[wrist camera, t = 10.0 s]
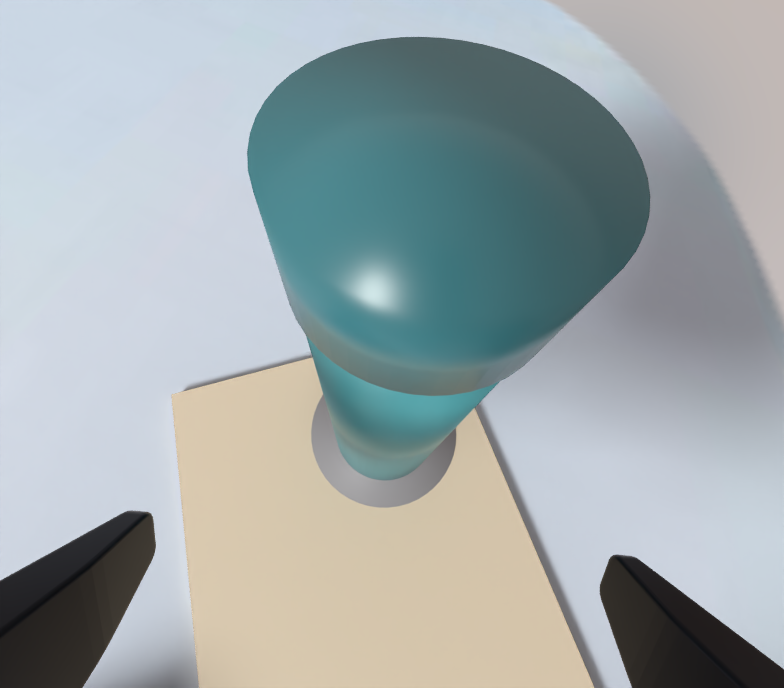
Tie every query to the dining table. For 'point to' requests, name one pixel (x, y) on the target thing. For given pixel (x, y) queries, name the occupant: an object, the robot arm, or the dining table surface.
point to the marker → (436, 227)
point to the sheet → (354, 554)
